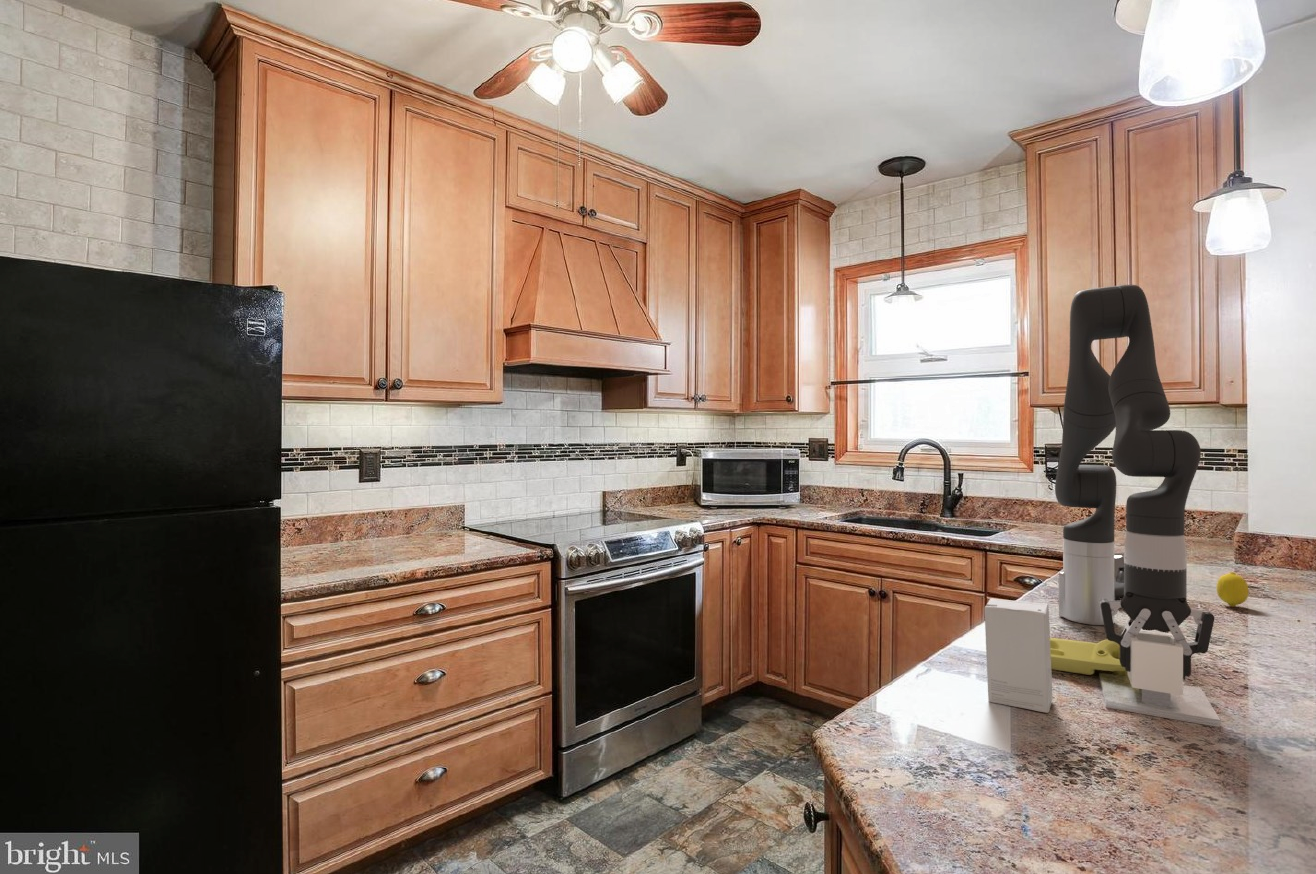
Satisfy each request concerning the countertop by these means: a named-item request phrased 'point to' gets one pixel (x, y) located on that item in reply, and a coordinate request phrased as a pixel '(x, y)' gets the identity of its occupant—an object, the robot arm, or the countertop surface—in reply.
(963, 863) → the countertop surface
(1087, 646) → the plastic component
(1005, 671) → the skincare box
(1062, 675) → the countertop surface
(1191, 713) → the duct stub
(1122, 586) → the piggy bank
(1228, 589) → the lemon
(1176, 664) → the square tube sleeve
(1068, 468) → the robot arm
